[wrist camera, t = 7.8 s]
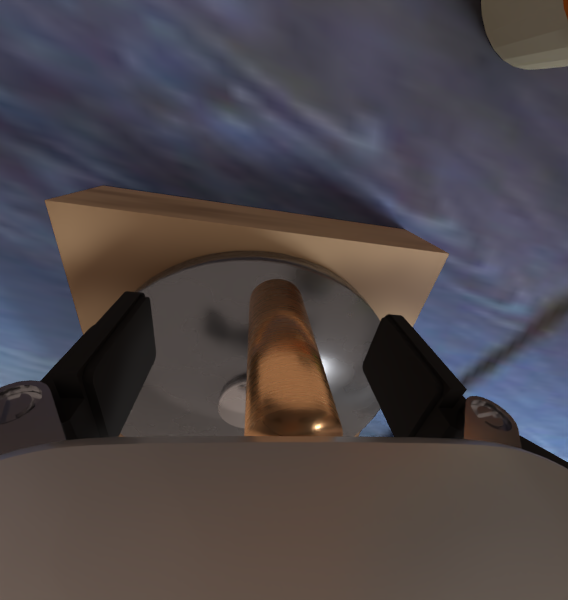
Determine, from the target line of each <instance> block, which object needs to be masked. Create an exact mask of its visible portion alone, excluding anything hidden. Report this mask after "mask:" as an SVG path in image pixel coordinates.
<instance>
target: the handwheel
mask: <svg viewBox="0 0 568 600" xmlns="http://www.w3.org/2000/svg"><path fill="white" fill-rule="evenodd" d="M134 292H142V293H144V294H145V297H149V298H150V302H151V311H152V320H153V328H154V337H155V346H156V358H155V361H154V364H153V366H152V368H151V370H150V372H149V374H148V376H147V378H146V380H145V382H144V384H143V387H142V389H141V391H140V393H139V395H138V397H137V399H136V401H135V403H134V405H133V408H132V410H131V412H130V414H129V416H128V418H127V420H126V422H125V424H124V426H123V428H122V431H121V434H122V435H123V436H124V437H143V436H330V437H354V436H355V435H356V434H358V433H359V432H360V431H361V430H362V429H363V428H364V427H365V426H366V425H367V424H368V423H369V422H370V421H371V420H372V419H373V418H374V416H375V415H376V414H377V412H378V411H379V410H380V406H379V404H378V402H377V399H376V397H375V395H374V393H373V391H372V389H371V387H370V385H369V383H368V381H367V379H366V376H365V374H364V372H363V369H362V365H363V362H364V359H365V357H366V354H367V352H368V350H369V347H370V345H371V342H372V340H373V338H374V335H375V333H376V330H377V328H378V325H379V323H380V320H379V318H378V317H377V315H376V314H375V312H374V311H373V309H372V308H371V307H370V305H369V304H368V303H367V301H366V300H365V299H364V298H363V297H362V295H361V294H360V293H359V292H358V291H357V290H356V289H355V288H354V287H353V286H352V285H350V284H349V283H348V282H346V281H345V280H344V279H343V278H341V277H340V276H338V275H337V274H335V273H333V272H331V271H330V270H328V269H326V268H325V267H323V266H320V265H318V264H315V263H313V262H310V261H308V260H305V259H302V258H298V257H294V256H290V255H287V254H283V253H275V252H267V251H228V252H220V253H212V254H208V255H204V256H201V257H197V258H193V259H189V260H187V261H184V262H182V263H179V264H177V265H174V266H172V267H169V268H167V269H166V270H164V271H162V272H161V273H159V274H157V275H156V276H154V277H152V278H150V279H149V280H148V281H147V282H145V283H144V284H143V285H142V286H140V287H139V288H138V289H137V290H135V291H134Z"/></svg>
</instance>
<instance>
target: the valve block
mask: <svg viewBox="0 0 568 600" xmlns="http://www.w3.org/2000/svg"><path fill="white" fill-rule="evenodd" d="M45 203H46V207H47V210H48V214H49V217H50V221H51V224H52V228H53V231H54V235H55V238H56V241H57V245H58V248H59V252H60V255H61V259H62V262H63V266H64V269H65V273H66V276H67V280H68V283H69V287H70V290H71V294H72V297H73V301H74V304H75V308H76V311H77V315H78V318H79V322H80V325H81V329H82V332H83V335H84V334H85V332H86V331H87V330H88V329H89V328H90V327H92V326H93V325H95V324H96V323H97V322H98V320H99V319H100V318H101V317H102V316H103V315H104V314H105V313H106V312H107V311H108V310H109V308H110V307H111V306H112V305H113V304H114V303H115V302H116V301H117V300H118V299H119V298H120V296H121V295H122V294H123V293H124V292H126V291H130V292H134V291H135V290H137V289H138V288H139V287H140V286H142V285H143V284H144V283H145V282H147V281H148V280H149V279H150V278H152V277H154V276H156V275H157V274H159V273H161V272H162V271H164V270H166V269H167V268H169V267H172V266H174V265H177V264H179V263H182V262H184V261H187V260H189V259H193V258H197V257H201V256H204V255H208V254H212V253H220V252H228V251H267V252H275V253H283V254H287V255H290V256H294V257H298V258H302V259H305V260H308V261H310V262H313V263H315V264H318V265H320V266H323V267H325V268H326V269H328V270H330V271H331V272H333V273H335V274H337V275H338V276H340V277H341V278H343V279H344V280H345V281H346V282H348V283H349V284H350V285H352V286H353V287H354V288H355V289H356V290H357V291H358V292H359V293H360V294H361V295H362V297H363V298H364V299H365V300H366V301H367V303H368V304H369V305H370V307H371V308H372V309H373V311H374V312H375V314H376V315H377V317H378V318H379V320H380V321H381V319H382V318H383V317H385V316H386V315H388V314H392V315H402V316H403V317H404V318H405V319H406V320H407V322H408V323H409V324H410V325H411V326H412V327H413V325H414V323H415V321H416V319H417V317H418V315H419V313H420V311H421V309H422V307H423V305H424V303H425V301H426V299H427V297H428V295H429V293H430V291H431V289H432V287H433V285H434V283H435V281H436V279H437V277H438V275H439V273H440V271H441V269H442V267H443V265H444V263H445V261H446V259H447V257H448V255H449V253H447V252H445V251H443V250H441V249H440V248H438V247H436V246H434V245H432V244H431V243H429V242H427V241H425V240H423V239H421V238H420V237H418V236H416V235H414V234H412V233H411V232H409V231H407V230H405V229H399V228H392V227H385V226H378V225H371V224H364V223H357V222H351V221H344V220H337V219H330V218H323V217H316V216H309V215H302V214H295V213H289V212H282V211H275V210H268V209H261V208H254V207H247V206H240V205H234V204H227V203H220V202H213V201H206V200H199V199H192V198H185V197H178V196H172V195H165V194H158V193H151V192H144V191H137V190H130V189H123V188H116V187H110V186H99V187H95V188H91V189H87V190H83V191H79V192H75V193H71V194H67V195H63V196H59V197H55V198H51V199H47V200H45ZM360 432H361V431H360ZM360 432H359V433H358V434H356V435H355V436H354V437H358V436H359V434H360ZM119 437H124V436H123V435H122V434H121V433H120V435H119Z"/></svg>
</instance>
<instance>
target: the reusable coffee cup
mask: <svg viewBox="0 0 568 600" xmlns="http://www.w3.org/2000/svg"><path fill="white" fill-rule="evenodd" d="M481 10H482V18H483V22H484V27H485V31H486V35H487V37H488V39H489V41H490V43H491V45H492V47H493V49H494V50H495V52H496V53H497V54H498V55H499V56H500V57H501V59H502V60H504V61H505V62H507V63H509V64H510V65H512V66H514V67H517V68H521V69H526V70H532V69H545V68H554V67H563V66H568V0H481Z"/></svg>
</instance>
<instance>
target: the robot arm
mask: <svg viewBox="0 0 568 600" xmlns="http://www.w3.org/2000/svg"><path fill="white" fill-rule="evenodd" d="M155 358H156V346H155V337H154V328H153V320H152V311H151V302H150V298H149V297H145V294H144V293H142V292H130V291H126V292H124V293H123V294H122V295H121V296H120V298H119V299H118V300H117V301H116V302H115V303H114V304H113V305H112V306H111V307H110V308H109V310H108V311H107V312H106V313H105V314H104V315H103V316H102V317H101V318H100V319H99V320H98V322H97V323H96V324H95V325H93V326H92V327H90V328H89V329H88V330H87V331H86V332H85V334H84V335H83V336H82V337H81V338H80V339H79V340H78V341H77V342H76V343H75V344H74V345H73V346H72V348H71V349H70V350H69V351H68V352H67V353H66V354H65V355H64V356H63V357H62V358H61V359H60V361H59V362H58V363H57V364H56V365H55V366H54V367H53V368H52V369H51V370H50V371H49V372H48V373H47V375H46V376H45V377H44V378H43V379H42V380H41V381H31V380H30V381H20V382H16V383H12V384H8V385H6V386H3V387H1V388H0V600H568V462H566V461H564V460H563V459H561V458H559V457H557V456H555V455H554V454H552V453H550V452H548V451H547V450H545V449H543V448H541V447H539V446H538V445H536V444H534V443H532V442H531V441H529V440H527V439H525V438H523V437H522V436H520V435H519V431H518V427H517V424H516V422H515V421H514V420H513V418H512V417H511V416H510V415H509V414H508V413H507V412H506V411H505V410H504V409H502V408H501V407H500V406H498V405H497V404H495V403H493V402H492V401H490V400H487V399H485V398H482V397H478V396H470V397H468V398H467V399H465V398H464V397H463V394H464V392H465V391H466V390H467V389H466V388H465V387H464V386H463V385H462V384H461V382H460V381H459V380H458V379H457V378H456V377H455V376H454V374H453V373H452V372H451V371H450V370H449V369H448V367H447V366H446V365H445V364H444V363H443V362H442V361H441V359H440V358H439V357H438V356H437V355H436V354H435V353H434V351H433V350H432V349H431V348H430V347H429V346H428V345H427V343H426V342H425V341H424V340H423V339H422V338H421V336H420V335H419V334H418V333H417V332H416V331H415V330H414V328H413V327H412V326H411V325H410V324H409V323H408V322H407V320H406V319H405V318H404V317H403V316H402V315H392V314H388V315H386V316H385V317H383V318H382V319H381V321H380V323H379V325H378V328H377V330H376V333H375V335H374V338H373V340H372V342H371V345H370V347H369V350H368V352H367V354H366V357H365V359H364V362H363V365H362V369H363V372H364V374H365V376H366V379H367V381H368V383H369V385H370V387H371V389H372V391H373V393H374V395H375V397H376V399H377V402H378V404H379V406H380V408H381V410H382V412H383V414H384V416H385V418H386V420H387V422H388V425H389V427H390V429H391V431H392V433H393V435H394V437H330V436H143V437H119V435H120V433H121V431H122V428H123V426H124V424H125V422H126V420H127V418H128V416H129V414H130V412H131V410H132V408H133V405H134V403H135V401H136V399H137V397H138V395H139V393H140V391H141V389H142V387H143V384H144V382H145V380H146V378H147V376H148V374H149V372H150V370H151V368H152V366H153V364H154V361H155Z"/></svg>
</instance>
